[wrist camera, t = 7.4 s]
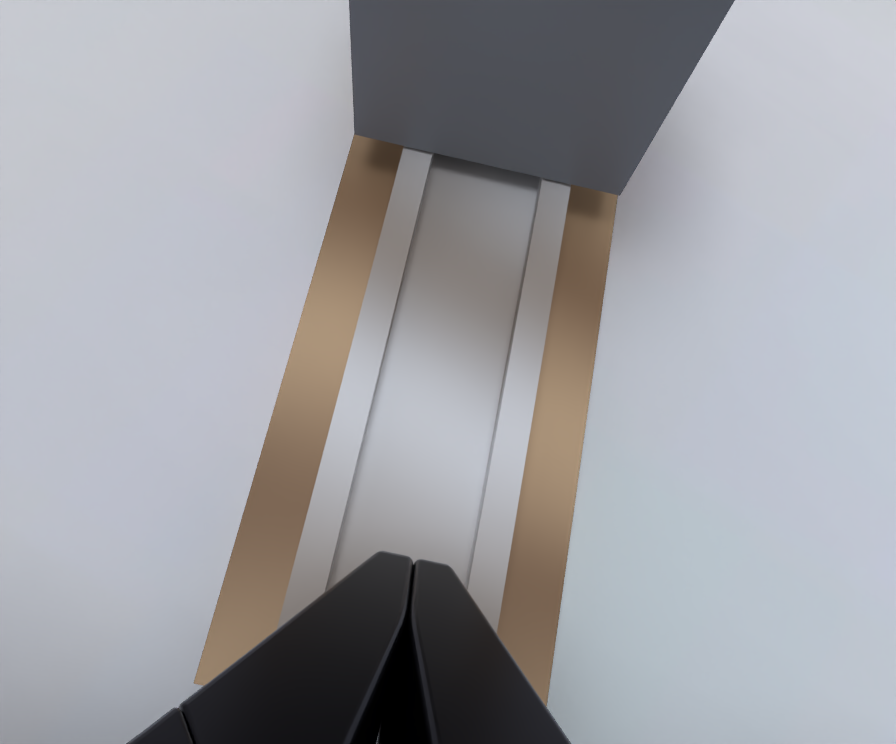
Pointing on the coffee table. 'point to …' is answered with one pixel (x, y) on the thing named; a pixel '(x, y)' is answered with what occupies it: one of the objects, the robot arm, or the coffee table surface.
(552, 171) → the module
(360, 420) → the rail mount
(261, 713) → the robot arm
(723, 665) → the coffee table surface
